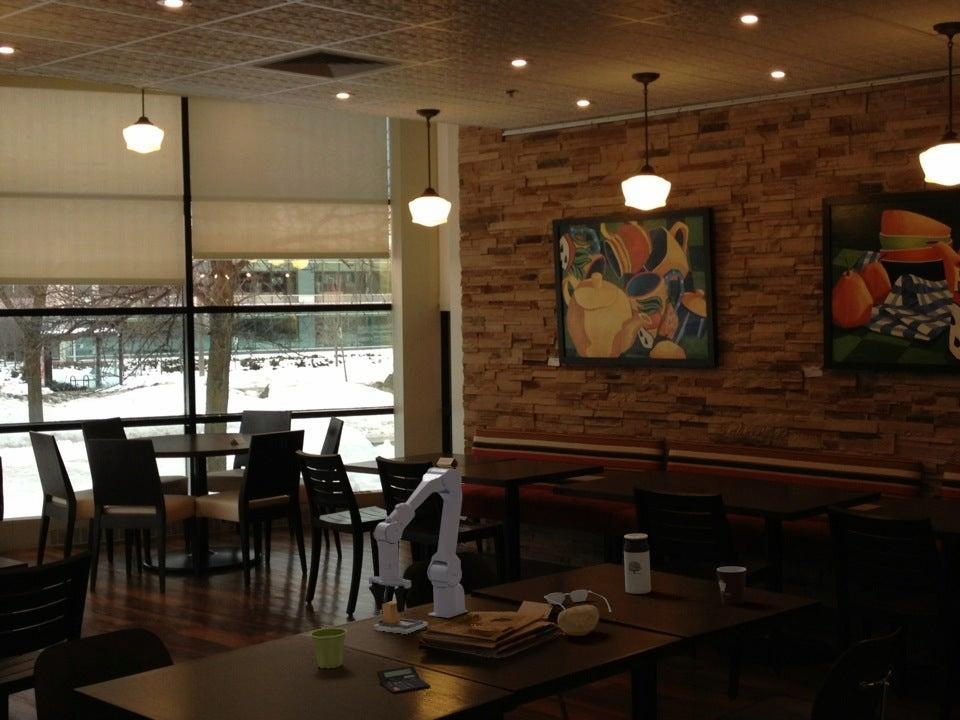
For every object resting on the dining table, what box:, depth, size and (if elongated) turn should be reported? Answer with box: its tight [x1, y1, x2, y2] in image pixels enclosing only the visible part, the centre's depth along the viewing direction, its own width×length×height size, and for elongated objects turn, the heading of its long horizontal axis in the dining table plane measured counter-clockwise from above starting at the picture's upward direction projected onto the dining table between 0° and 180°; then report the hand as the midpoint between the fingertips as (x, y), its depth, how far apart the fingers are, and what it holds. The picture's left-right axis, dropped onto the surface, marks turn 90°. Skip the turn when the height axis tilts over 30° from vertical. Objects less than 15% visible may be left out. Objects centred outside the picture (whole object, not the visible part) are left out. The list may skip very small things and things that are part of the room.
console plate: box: [373, 617, 429, 635], centre depth 339 cm, size 10×12×2 cm
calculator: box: [376, 665, 431, 695], centre depth 283 cm, size 9×12×3 cm
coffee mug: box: [715, 566, 747, 606], centre depth 356 cm, size 12×9×10 cm
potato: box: [557, 604, 600, 637], centre depth 323 cm, size 10×14×8 cm
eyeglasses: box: [543, 589, 612, 613], centre depth 355 cm, size 15×18×4 cm
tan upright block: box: [381, 600, 401, 623], centre depth 341 cm, size 4×3×6 cm
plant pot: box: [309, 627, 348, 670], centre depth 302 cm, size 9×9×9 cm
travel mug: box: [623, 533, 652, 595], centre depth 375 cm, size 8×8×18 cm
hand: (390, 610), depth 341 cm, fingers open, 7 cm apart
